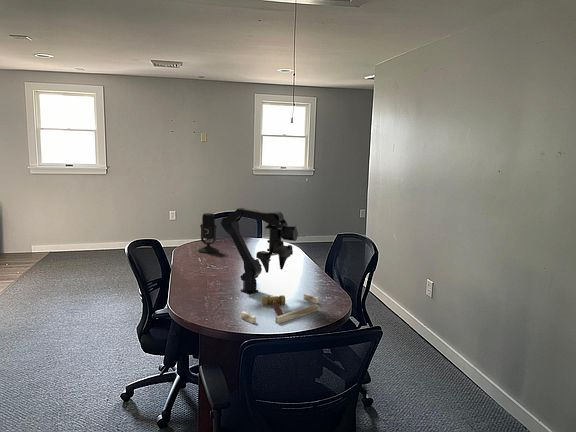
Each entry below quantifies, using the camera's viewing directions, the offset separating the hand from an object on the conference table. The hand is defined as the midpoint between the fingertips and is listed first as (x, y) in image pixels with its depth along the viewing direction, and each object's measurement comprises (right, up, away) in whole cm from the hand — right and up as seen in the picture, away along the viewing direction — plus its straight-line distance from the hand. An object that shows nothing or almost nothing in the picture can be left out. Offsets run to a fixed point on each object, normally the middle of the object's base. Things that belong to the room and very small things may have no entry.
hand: (274, 270), depth 218 cm
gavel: (+2, -16, -19) cm, 25 cm away
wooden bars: (+6, -15, -20) cm, 26 cm away
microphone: (-47, +2, +90) cm, 101 cm away
